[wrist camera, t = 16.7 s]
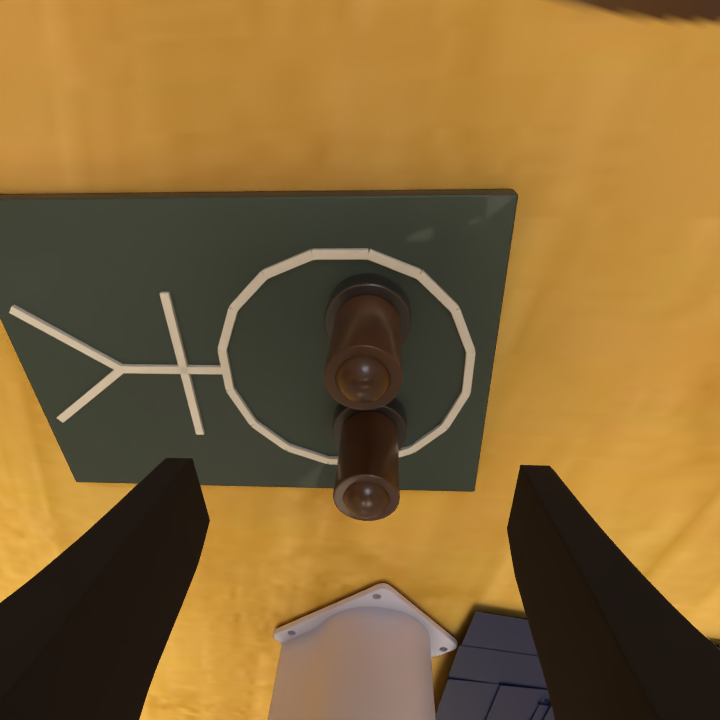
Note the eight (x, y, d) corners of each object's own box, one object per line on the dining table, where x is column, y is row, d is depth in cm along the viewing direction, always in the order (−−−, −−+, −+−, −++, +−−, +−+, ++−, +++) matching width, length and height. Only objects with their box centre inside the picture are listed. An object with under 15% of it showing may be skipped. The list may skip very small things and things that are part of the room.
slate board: (83, 471, 25) (73, 485, 24) (-39, 194, 18) (-61, 200, 17) (472, 480, 24) (475, 495, 23) (513, 188, 17) (520, 195, 16)
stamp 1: (362, 361, 20) (354, 448, 15) (309, 305, 18) (284, 382, 14) (427, 318, 19) (438, 399, 14) (375, 255, 17) (370, 323, 13)
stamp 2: (365, 456, 22) (359, 553, 18) (319, 412, 21) (301, 505, 17) (421, 424, 21) (429, 519, 17) (376, 376, 20) (372, 465, 16)
